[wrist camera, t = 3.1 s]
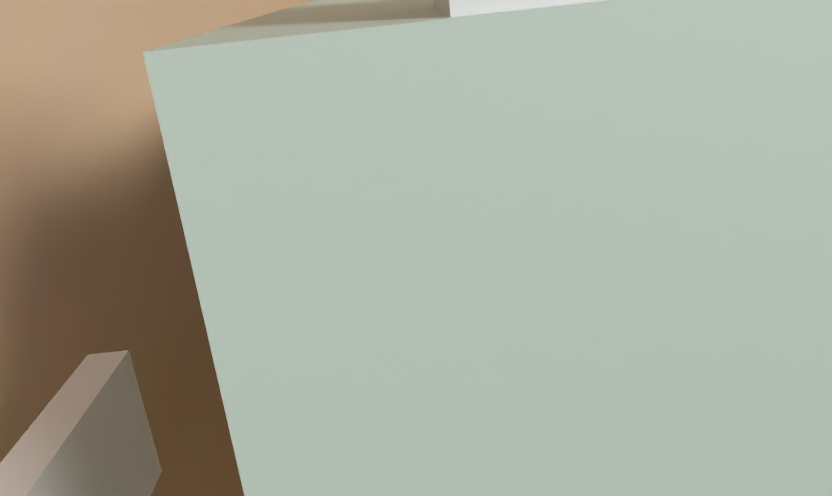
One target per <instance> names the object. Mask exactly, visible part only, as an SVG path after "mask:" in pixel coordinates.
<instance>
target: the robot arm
mask: <svg viewBox="0 0 832 496" xmlns="http://www.w3.org/2000/svg"><path fill="white" fill-rule="evenodd" d="M161 473H162V469H161V466H160V462H159V458H158V455H157V451H156V448H155V444H154V440H153V437H152V433H151V429H150V426H149V422H148V419H147V415H146V411H145V408H144V404H143V400H142V397H141V393H140V389H139V386H138V382H137V379H136V375H135V371H134V368H133V364H132V360H131V357H130V353H129V350H125V351H116V352H106V353H97V354H88V355H87V356H86V357H85V359H84V360H83V361H82V362H81V364H80V365H79V366H78V367H77V369H76V370H75V371H74V372H73V373H72V375H71V376H70V377H69V378H68V380H67V381H66V382H65V383H64V385H63V386H62V387H61V388H60V390H59V391H58V392H57V393H56V395H55V396H54V397H53V398H52V400H51V401H50V402H49V403H48V404H47V406H46V407H45V408H44V409H43V411H42V412H41V413H40V414H39V416H38V417H37V418H36V419H35V421H34V422H33V423H32V424H31V426H30V427H29V428H28V429H27V431H26V432H25V433H24V434H23V435H22V437H21V438H20V439H19V440H18V442H17V443H16V444H15V445H14V447H13V448H12V449H11V450H10V452H9V453H8V454H7V455H6V457H5V458H4V459H3V460H2V462H1V463H0V496H151V495H152V493H153V491H154V488H155V486H156V484H157V482H158V480H159V478H160V476H161Z"/></svg>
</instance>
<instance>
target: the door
mask: <svg viewBox="0 0 832 496" xmlns="http://www.w3.org/2000/svg"><path fill="white" fill-rule="evenodd" d="M143 56H144V60H145V65H146V69H147V73H148V78H149V82H150V86H151V91H152V95H153V99H154V104H155V108H156V113H157V117H158V121H159V126H160V130H161V134H162V139H163V143H164V147H165V152H166V156H167V161H168V165H169V169H170V174H171V178H172V182H173V187H174V191H175V195H176V200H177V204H178V209H179V213H180V217H181V222H182V226H183V230H184V235H185V239H186V243H187V248H188V252H189V257H190V261H191V265H192V270H193V274H194V278H195V283H196V287H197V291H198V296H199V300H200V305H201V309H202V313H203V318H204V322H205V326H206V331H207V335H208V339H209V344H210V348H211V353H212V357H213V361H214V366H215V370H216V374H217V379H218V383H219V387H220V392H221V396H222V401H223V405H224V409H225V414H226V418H227V422H228V427H229V431H230V435H231V440H232V444H233V449H234V453H235V457H236V462H237V466H238V470H239V475H240V479H241V483H242V488H243V492H244V496H832V0H313V1H310V2H307V3H303V4H300V5H297V6H293V7H290V8H287V9H283V10H280V11H277V12H274V13H270V14H267V15H264V16H260V17H257V18H254V19H250V20H247V21H244V22H240V23H237V24H234V25H230V26H227V27H224V28H221V29H217V30H214V31H211V32H207V33H204V34H201V35H197V36H194V37H191V38H187V39H184V40H181V41H177V42H174V43H171V44H168V45H164V46H161V47H158V48H154V49H151V50H148V51H144V52H143Z"/></svg>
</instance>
